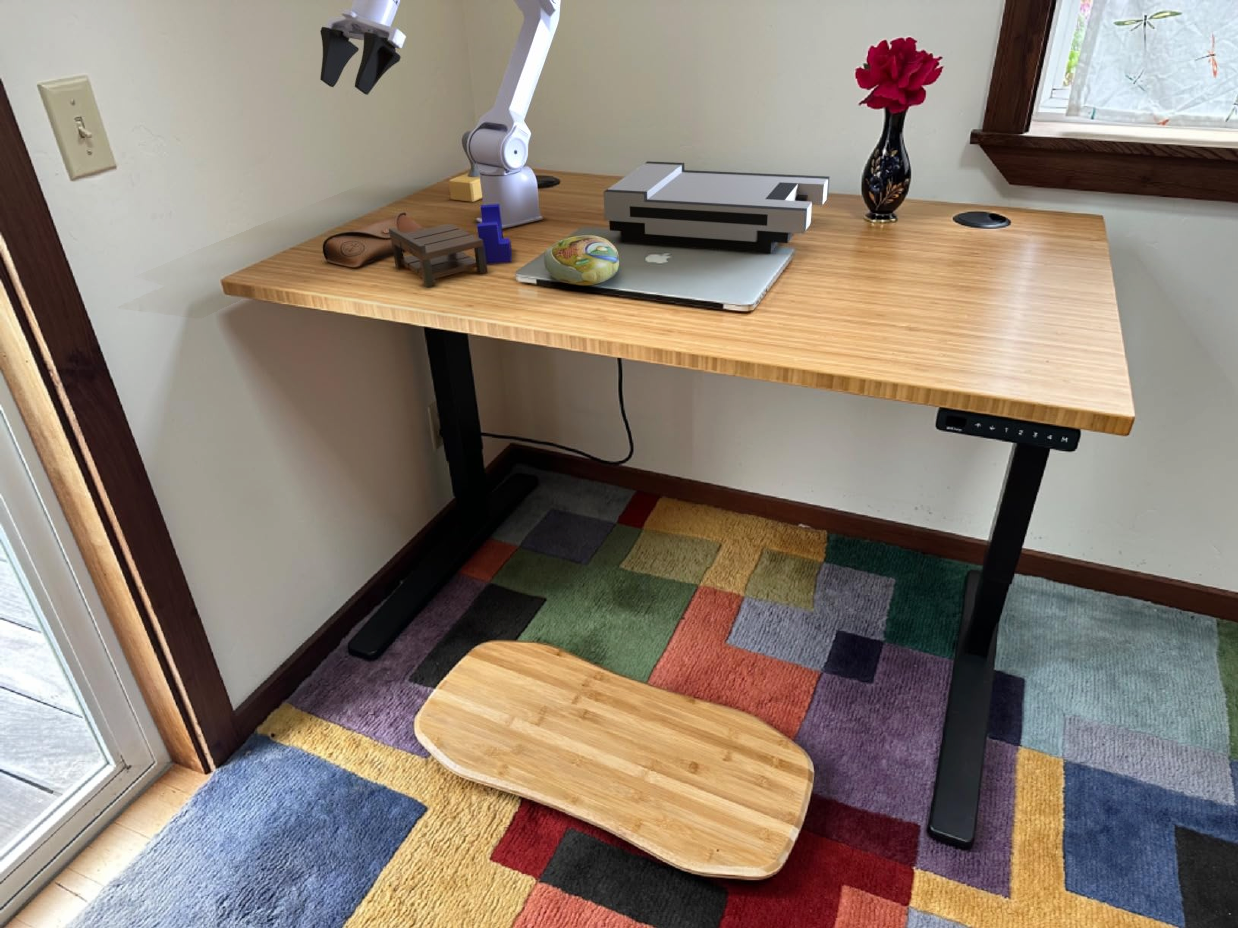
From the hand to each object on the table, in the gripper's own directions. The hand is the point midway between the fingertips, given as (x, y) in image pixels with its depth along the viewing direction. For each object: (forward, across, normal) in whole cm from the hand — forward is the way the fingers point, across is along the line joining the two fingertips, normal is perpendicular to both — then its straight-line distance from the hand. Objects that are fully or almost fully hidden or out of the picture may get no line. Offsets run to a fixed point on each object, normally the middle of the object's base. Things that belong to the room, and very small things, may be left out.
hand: (343, 87), depth 124 cm
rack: (+18, +14, +17) cm, 29 cm away
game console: (-6, +41, +46) cm, 62 cm away
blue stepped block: (+11, +15, +26) cm, 32 cm away
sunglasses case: (+18, -2, +20) cm, 27 cm away
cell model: (+12, +35, +23) cm, 44 cm away
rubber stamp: (-2, -13, +47) cm, 49 cm away
